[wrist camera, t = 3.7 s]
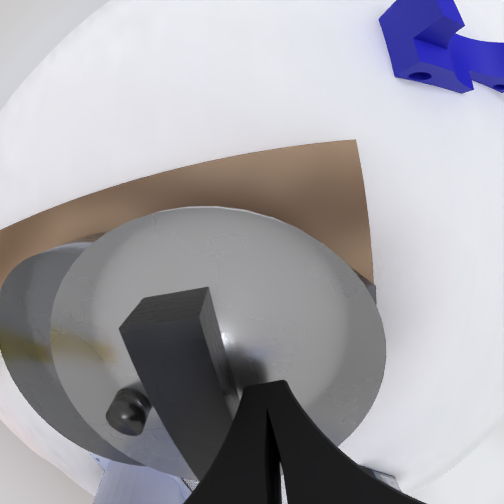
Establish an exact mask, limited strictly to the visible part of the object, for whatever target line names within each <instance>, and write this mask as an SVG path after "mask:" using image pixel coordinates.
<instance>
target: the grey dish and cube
mask: <svg viewBox="0 0 504 504" xmlns="http://www.w3.org/2000/svg"><path fill="white" fill-rule="evenodd" d="M106 233H107V232H103V233H96V234H91V235H87V236H84V237H82V238H79V239H76V240H73V241H70V242H68V243H65V244H62V245H60V246H57V247H54V248H52V249H49V250H46V251H44V252H41V253H39V254H36V255H34V256H32V257H29V258H27V259H25V260H23V261H22V262H21V263H19V264H18V265H17V266H15V267H14V269H13V270H12V271H11V272H10V273H9V274H8V276H7V277H6V279H5V281H4V283H3V284H2V287H1V290H0V350H1V353H2V356H3V359H4V361H5V364H6V366H7V369H8V371H9V373H10V375H11V377H12V379H13V381H14V382H15V384H16V386H17V387H18V389H19V390H20V392H21V393H22V395H23V396H24V397H25V399H26V400H27V401H28V403H29V404H30V405H31V406H32V407H33V409H34V410H35V411H36V412H37V413H38V414H39V415H40V416H41V417H42V418H43V419H44V420H45V421H46V422H47V423H48V424H49V425H50V426H52V427H53V428H54V429H55V430H56V431H58V432H59V433H60V434H62V435H63V436H64V437H66V438H67V439H69V440H70V441H72V442H73V443H75V444H77V445H78V446H80V447H82V448H84V449H86V450H88V451H90V452H92V453H94V454H96V455H99V456H101V457H104V458H107V459H110V460H113V461H116V462H120V463H125V464H129V465H136V466H146V465H144V464H142V463H140V462H138V461H136V460H134V459H132V458H130V457H129V456H127V455H125V454H124V453H122V452H121V451H119V450H118V449H116V448H115V447H113V446H112V445H111V444H110V443H108V442H107V441H106V440H104V439H103V438H102V437H101V436H100V435H99V434H98V433H97V432H96V431H95V430H94V429H93V428H91V427H90V425H89V424H88V423H87V422H86V421H85V420H84V418H83V417H82V416H81V415H80V414H79V412H78V411H77V410H76V408H75V407H74V405H73V404H72V402H71V401H70V399H69V397H68V396H67V394H66V392H65V390H64V388H63V386H62V384H61V381H60V379H59V376H58V374H57V371H56V368H55V364H54V360H53V356H52V352H51V342H50V322H51V313H52V309H53V304H54V300H55V297H56V294H57V292H58V289H59V287H60V284H61V282H62V280H63V278H64V277H65V275H66V273H67V272H68V270H69V269H70V267H71V266H72V264H73V263H74V262H75V261H76V259H77V258H78V257H79V256H80V255H81V254H82V253H83V252H84V251H85V250H86V249H87V248H88V247H89V246H90V245H91V244H93V243H94V242H95V241H96V240H98V239H99V238H100V237H102V236H103V235H104V234H106ZM351 269H352V270H353V271H354V272H355V273H356V275H357V276H358V277H359V278H360V279H361V281H362V282H363V283H364V285H365V286H366V288H367V290H368V291H369V293H370V295H371V296H372V298H373V300H374V302H375V304H376V285H374V284H373V283H372V282H370V281H369V280H368V279H366V278H365V277H364V276H362V275H361V274H360V273H358V272H357V271H356V270H354V269H353V268H351Z"/></svg>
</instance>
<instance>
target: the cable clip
mask: <svg viewBox="0 0 504 504" xmlns="http://www.w3.org/2000/svg"><path fill="white" fill-rule="evenodd" d="M379 22H380V25H381V28H382V31H383V34H384V38H385V41H386V44H387V48H388V52H389V55H390V59H391V63H392V67H393V71H394V76H395V77H398V78H403V79H408V80H413V81H417V82H422V83H426V84H430V85H434V86H438V87H442V88H445V89H449V90H452V91H456V92H459V93H465V92H468V91H471V90H474V88H473V84H472V80H473V81H476V82H478V83H481V84H483V85H486V86H488V87H490V88H492V89H495V90H497V91H499V92H501V93H503V92H504V43H497V42H485V41H479V40H474V39H470V38H466V37H463V36H461V35H458V34H456V32H457V31H458V30H459V29H461V28H462V27H464V26H465V25H464V22H463V20H462V18H461V16H460V13H459V11H458V9H457V7H456V5H455V3H454V1H453V0H396V1H395V2H394V3H393V4H392V5H391V7H390V8H389V9H388V10H387V11H386V12H385V13H384V14H383V15H382V16H381V17H380V18H379Z"/></svg>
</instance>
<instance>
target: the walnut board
mask: <svg viewBox="0 0 504 504" xmlns="http://www.w3.org/2000/svg"><path fill="white" fill-rule="evenodd" d="M187 206H223V207H230V208H238V209H245V210H249V211H253V212H256V213H260V214H264V215H267V216H271V217H274V218H276V219H278V220H281V221H283V222H285V223H288V224H290V225H292V226H294V227H297V228H299V229H300V230H302V231H304V232H305V233H307V234H308V235H310V236H312V237H313V238H315V239H316V240H318V241H320V242H321V243H323V244H324V245H326V246H327V247H328V248H330V249H331V250H332V251H333V252H334V253H335V254H337V255H338V256H339V257H340V258H341V259H342V260H344V261H345V262H346V263H347V264H348V265H349V266H350V267H351V268H353V269H354V270H356V271H357V272H358V273H360V274H361V275H362V276H364V277H365V278H366V279H368V280H369V281H370V282H372V283H373V284H374V281H373V263H372V250H371V238H370V228H369V219H368V211H367V203H366V196H365V189H364V182H363V176H362V170H361V164H360V159H359V153H358V148H357V143H356V140H344V141H334V142H324V143H315V144H307V145H299V146H292V147H285V148H278V149H272V150H266V151H260V152H254V153H248V154H243V155H237V156H232V157H227V158H222V159H217V160H213V161H208V162H203V163H199V164H195V165H190V166H186V167H182V168H178V169H174V170H170V171H166V172H162V173H158V174H155V175H151V176H147V177H144V178H140V179H137V180H133V181H130V182H126V183H123V184H120V185H117V186H113V187H110V188H107V189H104V190H101V191H98V192H95V193H92V194H89V195H86V196H83V197H80V198H78V199H75V200H72V201H69V202H67V203H64V204H61V205H59V206H56V207H53V208H51V209H48V210H46V211H43V212H41V213H38V214H36V215H34V216H31V217H29V218H26V219H24V220H22V221H20V222H17V223H15V224H13V225H11V226H8V227H6V228H4V229H2V230H0V290H1V287H2V284H3V283H4V281H5V279H6V277H7V276H8V274H9V273H10V272H11V271H12V270H13V269H14V267H15V266H17V265H18V264H19V263H21V262H22V261H23V260H25V259H27V258H29V257H32V256H34V255H36V254H39V253H41V252H44V251H46V250H49V249H52V248H54V247H57V246H60V245H62V244H65V243H68V242H70V241H73V240H76V239H79V238H82V237H84V236H87V235H91V234H96V233H103V232H109V231H111V230H113V229H115V228H117V227H119V226H121V225H123V224H125V223H127V222H128V221H131V220H134V219H137V218H140V217H143V216H146V215H149V214H153V213H156V212H159V211H163V210H169V209H175V208H181V207H187Z"/></svg>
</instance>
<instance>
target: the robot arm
mask: <svg viewBox="0 0 504 504" xmlns="http://www.w3.org/2000/svg"><path fill="white" fill-rule="evenodd" d="M90 455H91V456H92V457H93V459H94V460H95V461H96V462H97V463H98V464H99V465H100V467H101V468H102V469H103V470H104V471H105V472H104V475H103V477H102V480H101V483H100V485H99V488H98V491H97V493H96V496H95V499H94V502H93V504H282V495H281V472H280V463H281V466H282V470H283V474H284V481H285V488H286V495H287V502H288V504H426V503H424V502H421V501H419V500H417V499H415V498H412V497H410V496H408V495H406V494H404V493H402V492H400V491H398V490H397V489H395V488H393V487H391V486H390V485H388V484H386V483H385V482H383V481H381V480H380V479H378V478H376V477H375V476H373V475H372V474H370V473H369V472H367V471H366V470H365V469H363V468H362V467H361V466H359V465H358V464H357V463H355V462H354V461H353V460H352V459H350V458H349V457H348V456H347V455H346V454H344V453H343V452H342V451H341V450H340V449H339V448H338V447H337V446H336V445H335V444H334V443H333V442H332V441H331V440H330V439H329V438H328V437H327V436H326V435H325V434H324V433H323V432H322V431H321V430H320V429H319V428H318V427H317V425H316V424H315V423H314V422H313V421H312V419H311V418H310V417H309V416H308V415H307V413H306V412H305V411H304V409H303V408H302V407H301V405H300V404H299V402H298V401H297V399H296V398H295V396H294V394H293V393H292V391H291V389H290V387H289V385H288V382H287V381H285V380H278V381H272V382H267V383H261V384H255V385H249V386H246V387H245V388H244V389H243V392H242V396H241V400H240V403H239V406H238V409H237V412H236V415H235V417H234V420H233V422H232V425H231V427H230V429H229V432H228V434H227V436H226V438H225V440H224V442H223V444H222V446H221V448H220V450H219V452H218V454H217V455H216V457H215V459H214V461H213V463H212V464H211V466H210V468H209V469H208V471H207V472H206V474H205V475H204V477H203V478H202V480H201V481H200V483H199V484H198V485H197V487H196V488H195V489H194V491H193V492H191V491H190V490H189V488H188V487H187V486H186V485H185V483H184V482H183V481H182V479H181V478H180V477H177V476H173V475H170V474H167V473H163V472H161V471H158V470H155V469H153V468H151V467H148V466H136V465H129V464H125V463H120V462H116V461H113V460H110V459H107V458H104V457H101V456H99V455H96V454H94V453H92V452H91V453H90Z"/></svg>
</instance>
